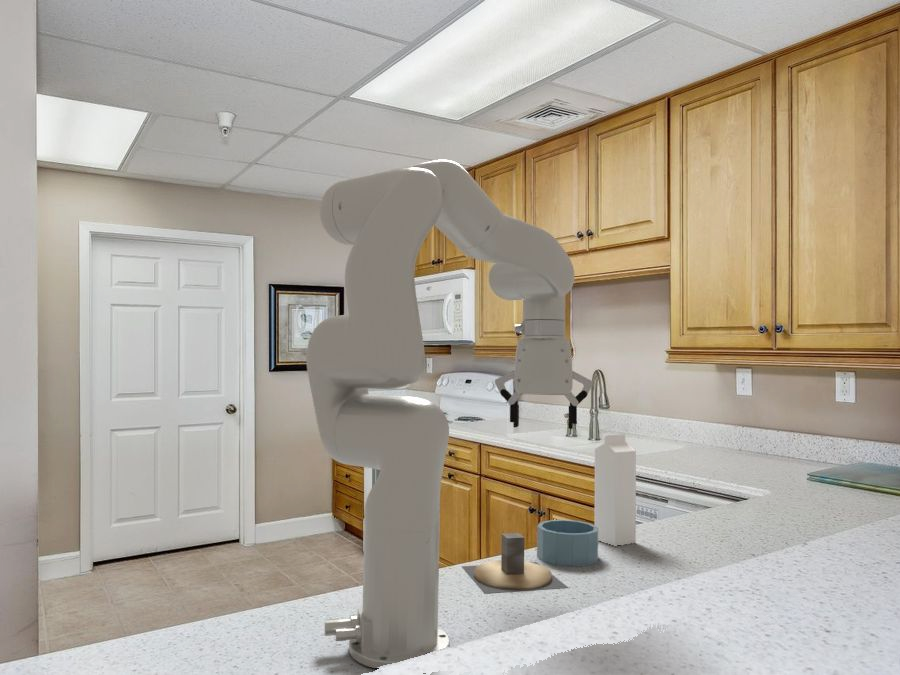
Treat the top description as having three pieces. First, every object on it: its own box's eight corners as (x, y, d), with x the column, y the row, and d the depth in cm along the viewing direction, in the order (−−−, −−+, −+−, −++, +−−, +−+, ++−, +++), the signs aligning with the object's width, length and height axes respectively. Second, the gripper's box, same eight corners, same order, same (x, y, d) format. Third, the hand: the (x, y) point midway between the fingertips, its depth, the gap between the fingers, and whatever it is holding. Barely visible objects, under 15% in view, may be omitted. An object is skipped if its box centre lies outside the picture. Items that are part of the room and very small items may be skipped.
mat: (484, 596, 101) (484, 593, 101) (461, 569, 115) (461, 566, 115) (568, 590, 104) (568, 587, 105) (536, 564, 118) (536, 561, 118)
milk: (635, 543, 134) (637, 435, 135) (614, 547, 131) (616, 436, 132) (613, 536, 139) (615, 432, 140) (593, 539, 136) (594, 433, 137)
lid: (486, 592, 102) (487, 548, 102) (465, 567, 114) (465, 527, 115) (564, 586, 105) (564, 543, 105) (534, 562, 117) (535, 524, 118)
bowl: (551, 570, 115) (551, 535, 115) (529, 552, 126) (529, 521, 126) (608, 566, 118) (608, 532, 118) (581, 549, 128) (582, 518, 129)
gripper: (493, 330, 114) (492, 428, 114) (593, 330, 111) (593, 431, 111) (497, 332, 122) (497, 424, 121) (592, 332, 119) (592, 427, 118)
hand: (543, 427), depth 116 cm, fingers open, 9 cm apart
